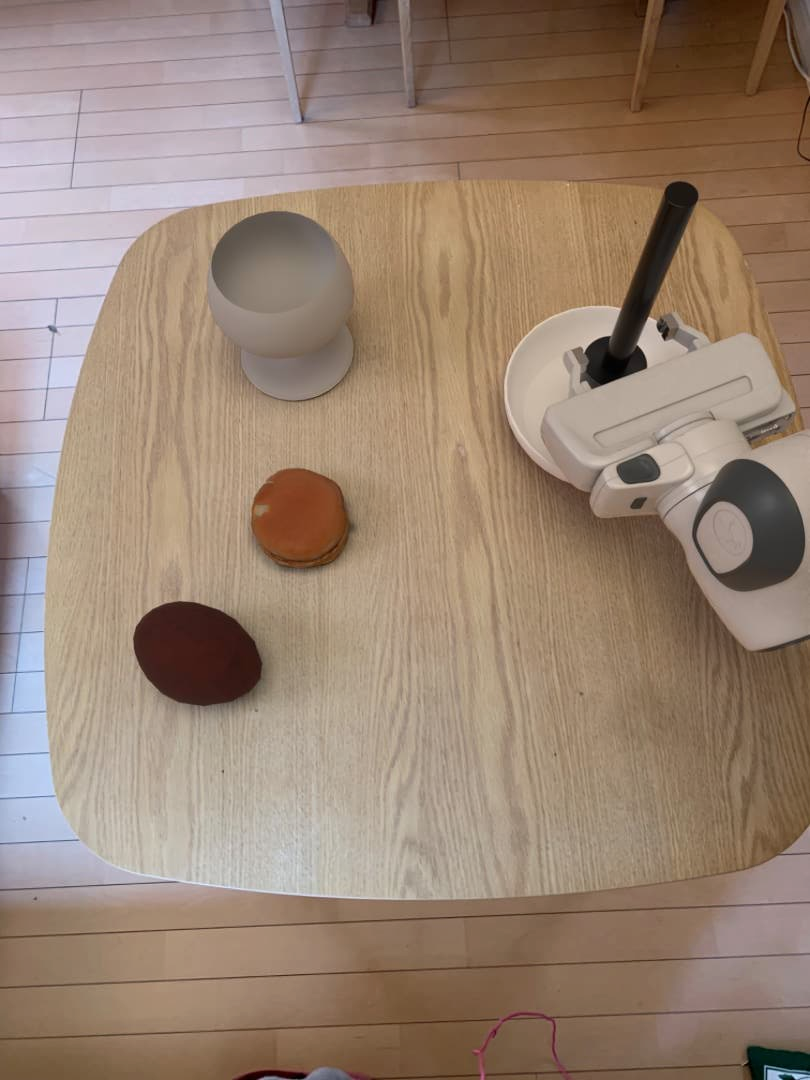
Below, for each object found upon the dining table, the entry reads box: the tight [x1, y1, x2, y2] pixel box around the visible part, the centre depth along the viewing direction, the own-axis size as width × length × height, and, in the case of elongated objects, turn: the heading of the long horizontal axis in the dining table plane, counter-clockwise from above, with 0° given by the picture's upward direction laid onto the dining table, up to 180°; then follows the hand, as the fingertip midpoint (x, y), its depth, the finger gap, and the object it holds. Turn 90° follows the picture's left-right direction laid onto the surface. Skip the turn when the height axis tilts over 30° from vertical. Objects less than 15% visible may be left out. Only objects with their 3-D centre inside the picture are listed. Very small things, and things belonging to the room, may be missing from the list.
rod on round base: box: [580, 180, 700, 389], centre depth 71 cm, size 6×6×24 cm
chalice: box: [206, 210, 355, 401], centre depth 84 cm, size 14×14×15 cm
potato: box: [132, 600, 263, 707], centre depth 75 cm, size 9×12×9 cm
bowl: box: [503, 305, 688, 484], centre depth 85 cm, size 20×20×6 cm
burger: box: [250, 467, 350, 569], centre depth 82 cm, size 10×9×5 cm
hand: (618, 334), depth 75 cm, fingers open, 8 cm apart
